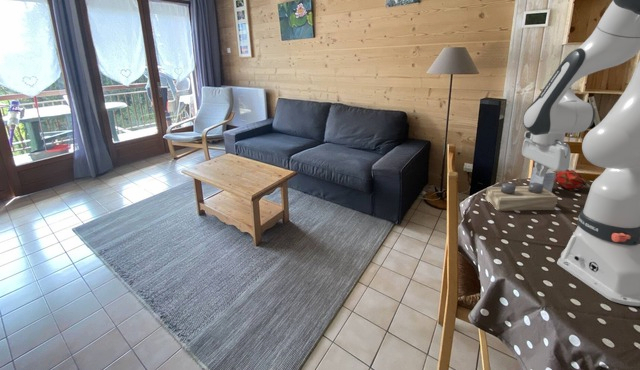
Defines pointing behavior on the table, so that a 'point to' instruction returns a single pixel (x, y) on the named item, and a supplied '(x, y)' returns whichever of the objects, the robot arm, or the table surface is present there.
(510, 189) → the knob left
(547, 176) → the medicine box
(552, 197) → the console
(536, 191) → the knob right
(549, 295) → the table surface
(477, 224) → the table surface
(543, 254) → the table surface
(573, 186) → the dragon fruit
